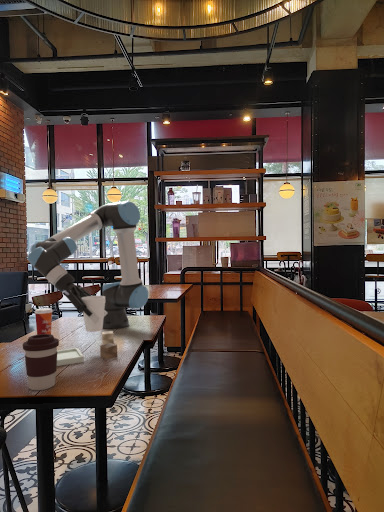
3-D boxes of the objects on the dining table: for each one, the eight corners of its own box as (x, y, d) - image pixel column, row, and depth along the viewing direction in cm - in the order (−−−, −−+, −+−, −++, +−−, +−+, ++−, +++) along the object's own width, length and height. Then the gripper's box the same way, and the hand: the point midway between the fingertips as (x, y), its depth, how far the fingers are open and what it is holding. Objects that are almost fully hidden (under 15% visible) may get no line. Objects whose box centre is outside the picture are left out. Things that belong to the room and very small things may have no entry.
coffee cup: (54, 392, 101) (52, 339, 101) (18, 393, 101) (16, 341, 100) (63, 379, 111) (62, 331, 111) (31, 380, 110) (30, 333, 110)
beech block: (112, 341, 158) (112, 331, 158) (113, 343, 154) (113, 333, 154) (102, 342, 157) (102, 331, 157) (102, 344, 152) (102, 334, 152)
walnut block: (110, 354, 138) (110, 343, 137) (117, 356, 134) (117, 345, 134) (100, 357, 134) (100, 345, 134) (107, 359, 131) (107, 347, 131)
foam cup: (84, 333, 135) (83, 300, 135) (80, 329, 144) (78, 297, 143) (109, 330, 140) (108, 297, 139) (103, 326, 148) (102, 295, 148)
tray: (77, 352, 140) (77, 347, 140) (83, 361, 129) (83, 356, 129) (41, 358, 134) (41, 352, 134) (45, 367, 123) (45, 362, 123)
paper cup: (46, 342, 157) (46, 310, 157) (31, 341, 159) (30, 310, 159) (56, 338, 165) (56, 308, 165) (42, 337, 166) (41, 307, 166)
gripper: (65, 282, 153) (103, 318, 153) (42, 289, 131) (86, 331, 131) (77, 270, 152) (115, 306, 152) (55, 274, 130) (99, 316, 130)
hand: (101, 318), depth 141 cm, fingers closed on foam cup, 9 cm apart
